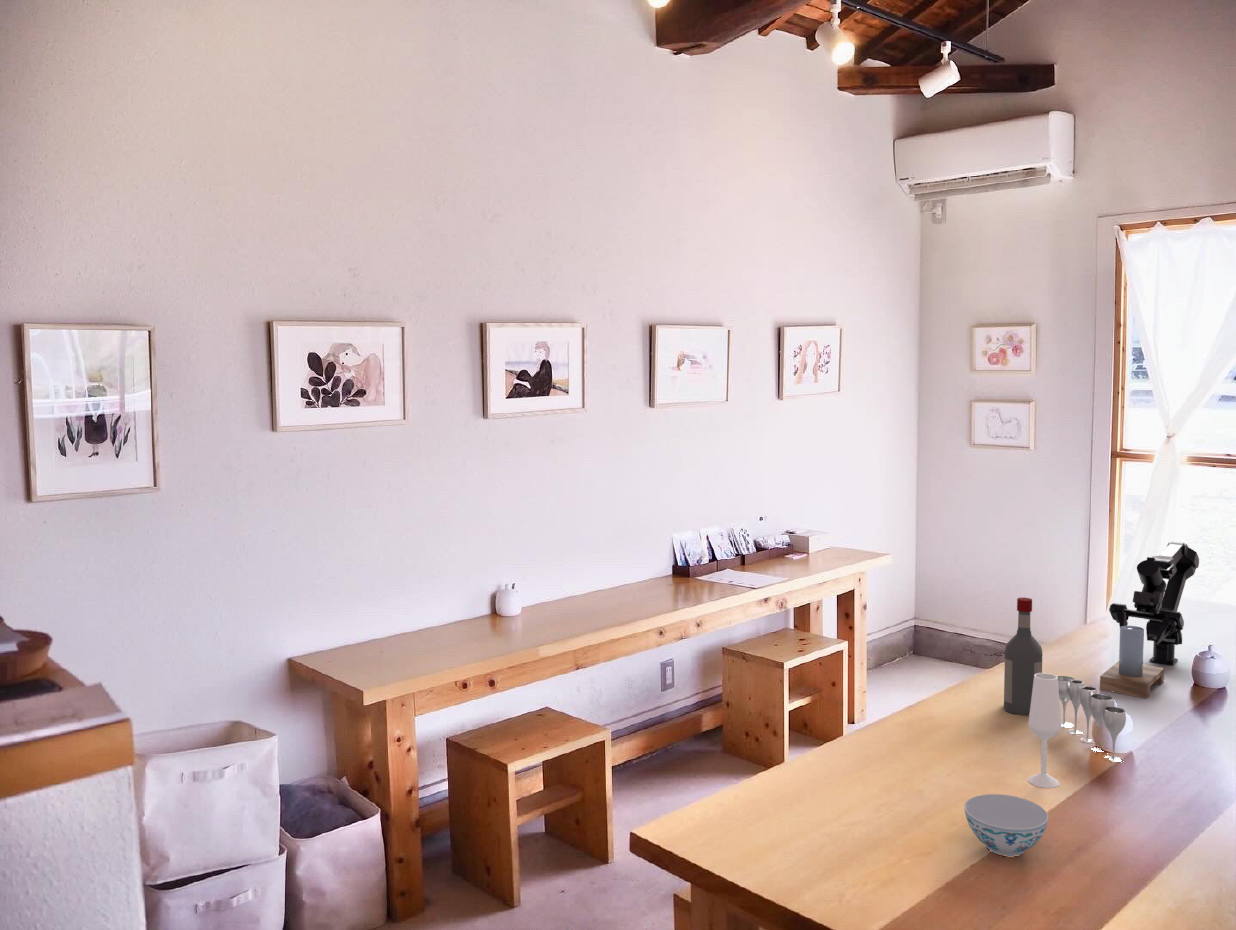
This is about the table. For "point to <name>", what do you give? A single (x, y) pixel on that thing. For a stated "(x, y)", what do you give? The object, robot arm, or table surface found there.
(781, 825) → the table surface
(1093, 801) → the table surface
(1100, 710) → the goblet set
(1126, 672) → the tall grey cylinder
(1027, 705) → the liquor
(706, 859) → the table surface
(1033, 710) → the champagne flute
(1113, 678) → the riser
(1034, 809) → the chinaware
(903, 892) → the table surface
